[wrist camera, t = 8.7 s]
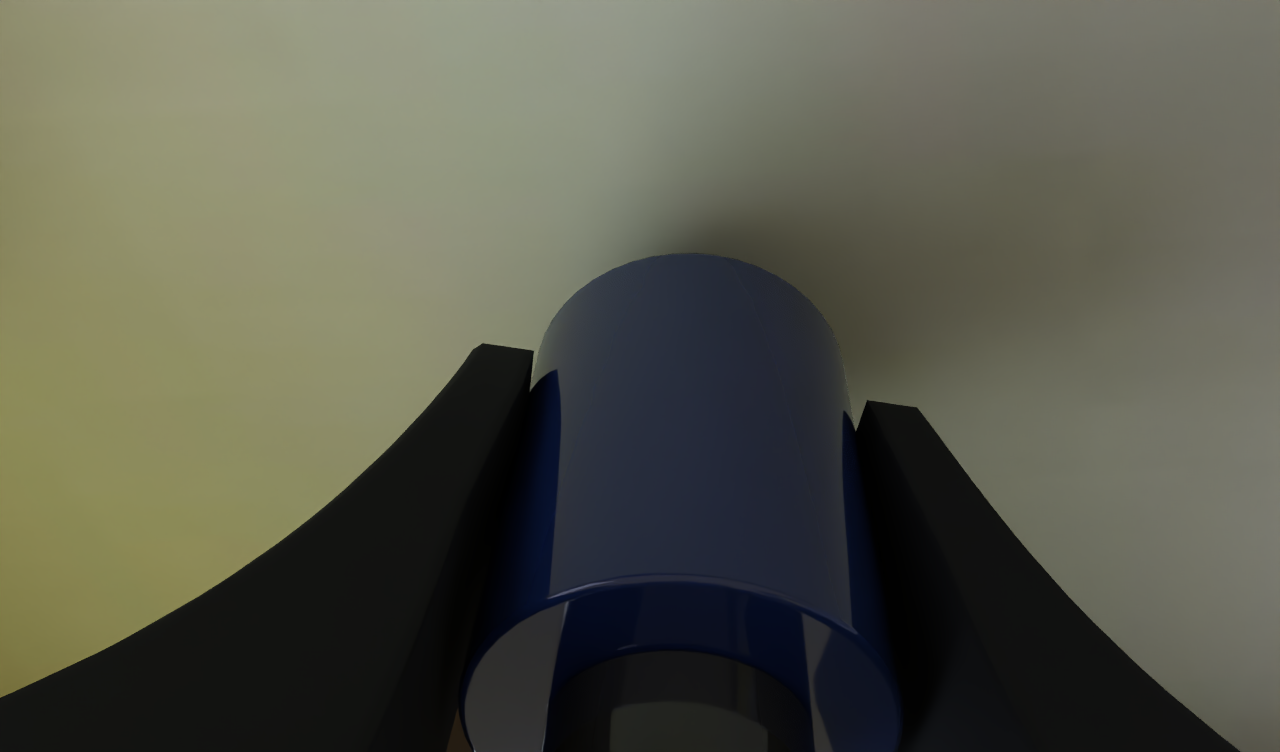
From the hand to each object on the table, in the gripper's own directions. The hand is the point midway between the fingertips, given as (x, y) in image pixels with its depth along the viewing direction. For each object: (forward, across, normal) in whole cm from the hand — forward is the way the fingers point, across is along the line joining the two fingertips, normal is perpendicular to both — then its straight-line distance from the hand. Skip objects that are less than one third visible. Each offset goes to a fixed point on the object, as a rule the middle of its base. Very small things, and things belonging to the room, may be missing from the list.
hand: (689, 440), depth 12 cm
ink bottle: (+1, 0, 0) cm, 1 cm away
